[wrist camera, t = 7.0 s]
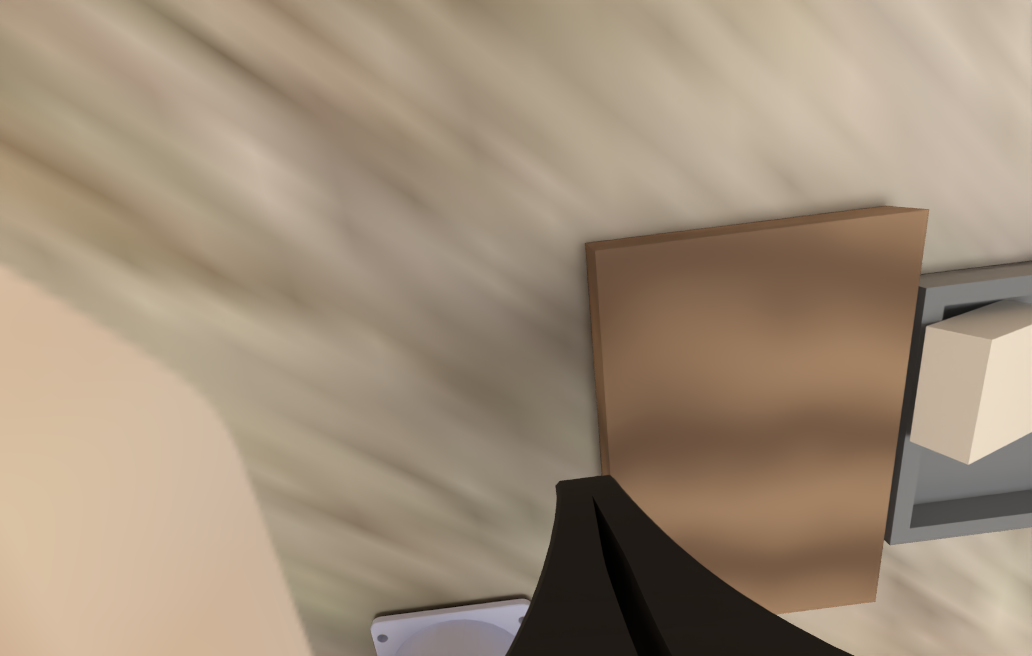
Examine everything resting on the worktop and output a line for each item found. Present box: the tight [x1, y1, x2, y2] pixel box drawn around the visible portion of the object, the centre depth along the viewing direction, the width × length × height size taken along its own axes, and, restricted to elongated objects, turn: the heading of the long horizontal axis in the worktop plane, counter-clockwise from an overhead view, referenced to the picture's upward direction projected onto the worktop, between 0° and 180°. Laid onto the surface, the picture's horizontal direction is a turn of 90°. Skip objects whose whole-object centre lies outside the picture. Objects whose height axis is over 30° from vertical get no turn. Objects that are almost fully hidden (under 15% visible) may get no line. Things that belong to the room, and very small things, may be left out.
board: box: [585, 206, 929, 614], centre depth 21 cm, size 18×12×2 cm, turn 7°
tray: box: [884, 261, 1032, 545], centre depth 21 cm, size 12×11×2 cm
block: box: [910, 300, 1032, 465], centre depth 19 cm, size 5×5×2 cm
